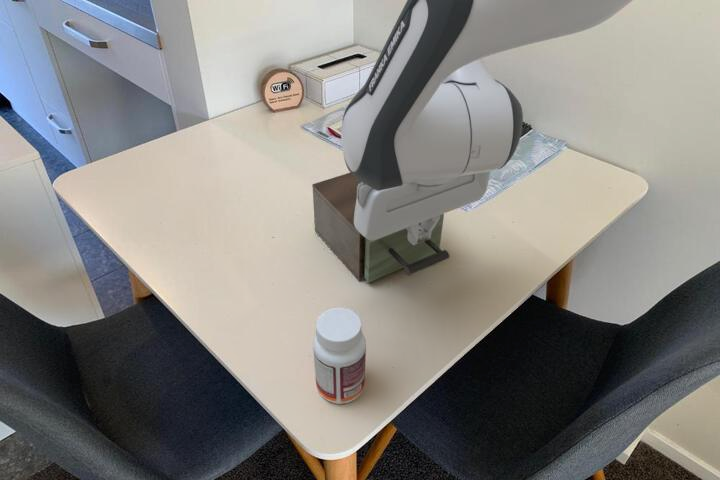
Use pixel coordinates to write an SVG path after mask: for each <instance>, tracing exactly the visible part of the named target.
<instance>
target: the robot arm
mask: <svg viewBox="0 0 720 480" xmlns="http://www.w3.org/2000/svg"><path fill="white" fill-rule="evenodd" d="M633 1H634V0H406V2H405V4H404V6H403V8H402V10H401V12H400V14H399V15H398V18H397V20H396V21H395V24H394V25H393V27H392V30H391V32H390V34H389V36H388V37H387V39H386V42H385V43H384V46H383V47H382V50H381V52H380V53H379V55H378V57H377V59H376V62H375V63H374V65H373V68H372V70H371V71H370V73H369V76H368V78H367V80H366V81H365V83H364V85H363V86H362V87H361V88H360V90H358V92H357V93H356V94H355V95H354V96H353V98H351V100H350V102H349V103H348V105H347V107H346V109H345V111H344V113H343V116H342V122H341V128H340V129H341V131H340V133H341V134H340V141H341V142H340V143H341V149H342V155H343V159H344V162H345V165H346V167H347V168H346V169H347V170H348V171H349V173H350V172H351V173H352V174H353V175H354V176H355V177H356V178H358V179H359V180H360V181H362V182H361V183H360V184H359V185H358V187H357V200H356V205H355V213H354V226H355V228H356V229H357V230H358V231H359V233H360V234H361V235H363V236H364V237H365V238H366V239H368V240H370V241H373V240H376V239H379V238H381V237H384V236H387V235H389V234H392V233H394V232H397V231H400V230H402V229H405V228H406V229H407V231H408V236H407V239H408V241H409V242H410V243H411V244H412V245H416V244H418V243H421V242H423V241H426V240H428V239H430V238H431V233H432V230H433V229H434V227H435V226H436V224H437V223H438V221H439V220H440V215H441V214H444V215H445V214H446V213H449V212H452V211H455V210H458V209H459V208H462V207H465V206H467V205H471V204H473V203H475V202H478V201H480V200H481V199H482V198H483V197H484V196H485V194H486V193H487V190H488V186H489V183H490V182H489V181H490V176H491V172H493V171H495V170H501V169H503V168H504V167H505V166H506V165H507V164H508V163H509V162H510V161H511V159H512V158H513V156H514V154H515V153H516V151H517V149H518V146H519V143H520V140H521V136H522V133H523V125H524V113H523V108H522V107H523V106H522V104H521V103H520V101H519V100H518V98H517V97H516V95H515V94H514V93H513V92H512V91H511V90H510V88H508V87H507V86H506V85H504V84H503V83H502V82H500V81H499V80H496V78H494V77H493V76H492V74H491V72H490V71H489V70H488V68H487V66H486V65H485V62H484V61H483V59H484V58H486V57H489V56H492V55H493V56H494V55H496V54H498V53H502V52H505V51H509V50H512V49H516V48H519V47H520V48H521V47H524V46H529V45H532V44H536V43H541V42H545V41H549V40H552V39H557V38H562V37H566V36H570V35H574V34H577V33H578V34H579V33H580V32H584V31H586V30H589V29H592V28H595V27H597V26H599V25H601V24H602V23H604V22H606V21H608V20H609V19H610V18H612V17H613V16H615V15H616V14H618V13H619V12H620V11H621V10H623V9H624V8H625V7H627V6H628V5H629V4H630V3H631V2H633ZM421 222H422V223H421ZM419 223H421V225H420V226H419Z"/></svg>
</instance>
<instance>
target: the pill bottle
mask: <svg viewBox="0 0 720 480" xmlns="http://www.w3.org/2000/svg"><path fill="white" fill-rule="evenodd" d="M362 325H363V323H362V320H361V317H360V316H359V314H358V313H357V312H356V311H354V310H352V309H351V308H346V307H340V306H339V307H338V306H337V307H332V308H329V309H326V310H325V311H323V312H322V313H320V315H319V316H318V317H317V319H316V323H315V335H314V337H313V343H312V349H313V359H314V361H313V362H314V372H315V373H314V375H315V386H316V390H317V392H318V393H319V395H320V396H321V397H322V398H323V400H326V401H328V402H330V403H333V404H340V405H341V404H348V403H351V402H353V401H354V400H356V399H357V398H358V397H359V396H361V394H362V393H363V391H364V389H365V386H366V361H367V360H366V355H367V353H366V352H367V341H366V337H365V334H364V333H363V329H362V328H363V327H362Z"/></svg>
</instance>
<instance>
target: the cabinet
mask: <svg viewBox="0 0 720 480" xmlns="http://www.w3.org/2000/svg"><path fill="white" fill-rule="evenodd" d="M361 182H362V181H360V180H359V179H358V178H356V177H355V176H354V175H353V174H352V173H351V172H350V171H349V172H348V173H344V174H341V175H338V176H335V177H334V176H333V177H331V178H328V179H325V180H321V181H319V182H315V183H312V185H311V186H312V199H313V200H312V202H313V219H314V220H313V221H314V232H315V233H316V234H317V235H318V236H319V238H320V239H321V240H322V241H323V242H324V243H325V245H326V246H328V248H329V249H330V250H331V251H332V252H333V253H334V255H335V256H336V257H337V258H338V259H339V260H340V262H341V263H342V264H343V265H344V266H345V267H346V269H347V270H348V271H349V272H350V273H351V275H353V276H354V278H355V279H356V280H357V281H358V282H362V281H364V280H366V279H365V278H364V276H365V270H364V236H363V235H361V234H360V233H359V231H358V230H357V229H356V228H355V226H354V213H355V205H356V200H357V187H358V185H359V184H360V183H361Z"/></svg>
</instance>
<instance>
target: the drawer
mask: <svg viewBox="0 0 720 480" xmlns="http://www.w3.org/2000/svg"><path fill="white" fill-rule="evenodd" d="M444 217H445V213H444V214H441V215H440V220H439V221H438V223H437V224H436V226H435V227H434V229H433V230H432V233H431V238H430V239H428V240H426V241H423V242H421V243H418V244H416V245H412V244H411V243H410V242H409V241H408V239H407V236H408V231H407V229H406V228H405V229H402V230H400V231H397V232H394V233H392V234H389V235H387V236H384V237H381V238H379V239H376V240H373V241H370V240H368V239H366V238H365V237H364V270H365V276H364V278H365V279H364V280H366V282H367V283H371V282H373V281H375V280H378V279H380V278H383V277H386V276H387V275H390V274H392V273H395V272H397V271H399V270H402V269H404V271H405V274H406V275H407V276H411V275H414V274H416V273H419V272H420V271H423V270H425V269H428V268H430V267H432V266H435V265H437V264H439V263H442V262H444V261H447V260H449V258H450V254H449V251H448V250H446V249H443V250H442V249H441V248H440V247H441V241H442V240H441V239H442V232H443V226H444V225H443V224H444ZM421 223H422V222H421ZM421 223H419V226H420V225H421Z"/></svg>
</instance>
